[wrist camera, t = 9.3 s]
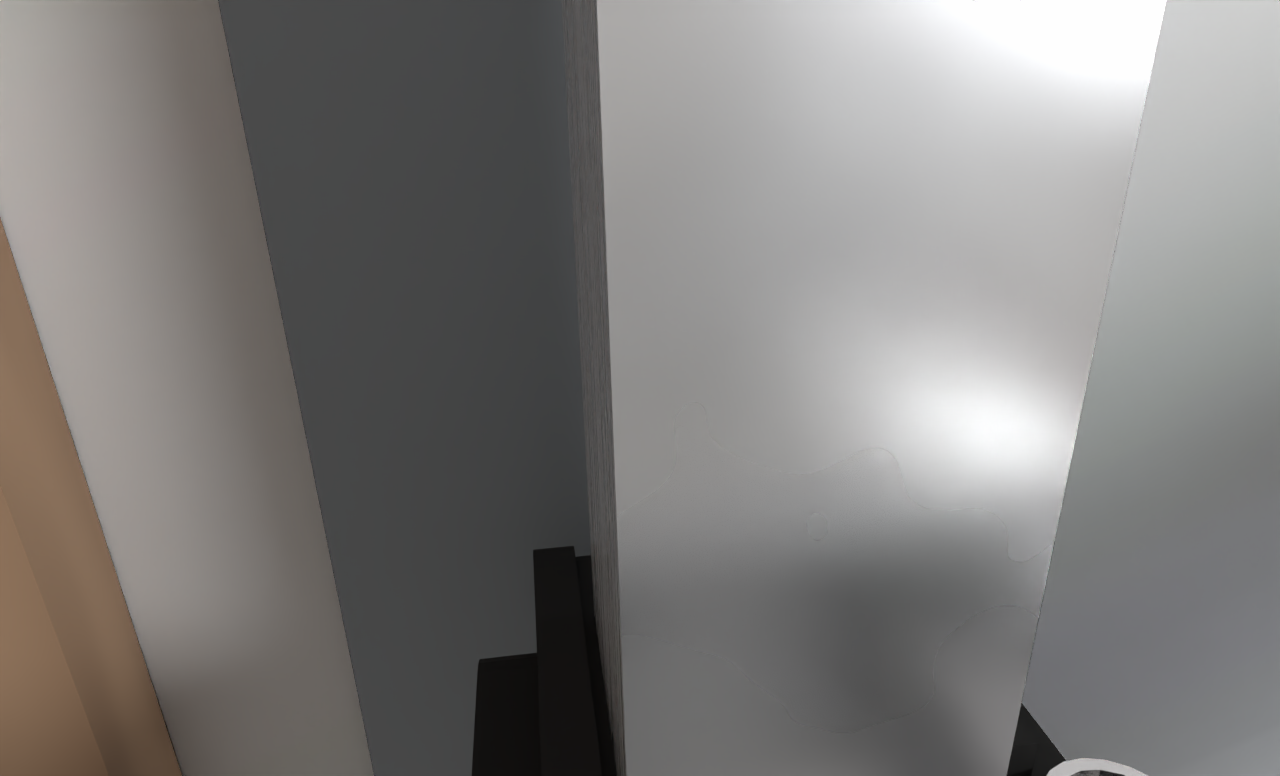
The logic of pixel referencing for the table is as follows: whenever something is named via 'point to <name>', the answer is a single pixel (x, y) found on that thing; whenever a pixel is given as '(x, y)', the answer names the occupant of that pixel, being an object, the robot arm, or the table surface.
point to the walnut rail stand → (60, 589)
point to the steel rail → (836, 361)
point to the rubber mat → (424, 328)
